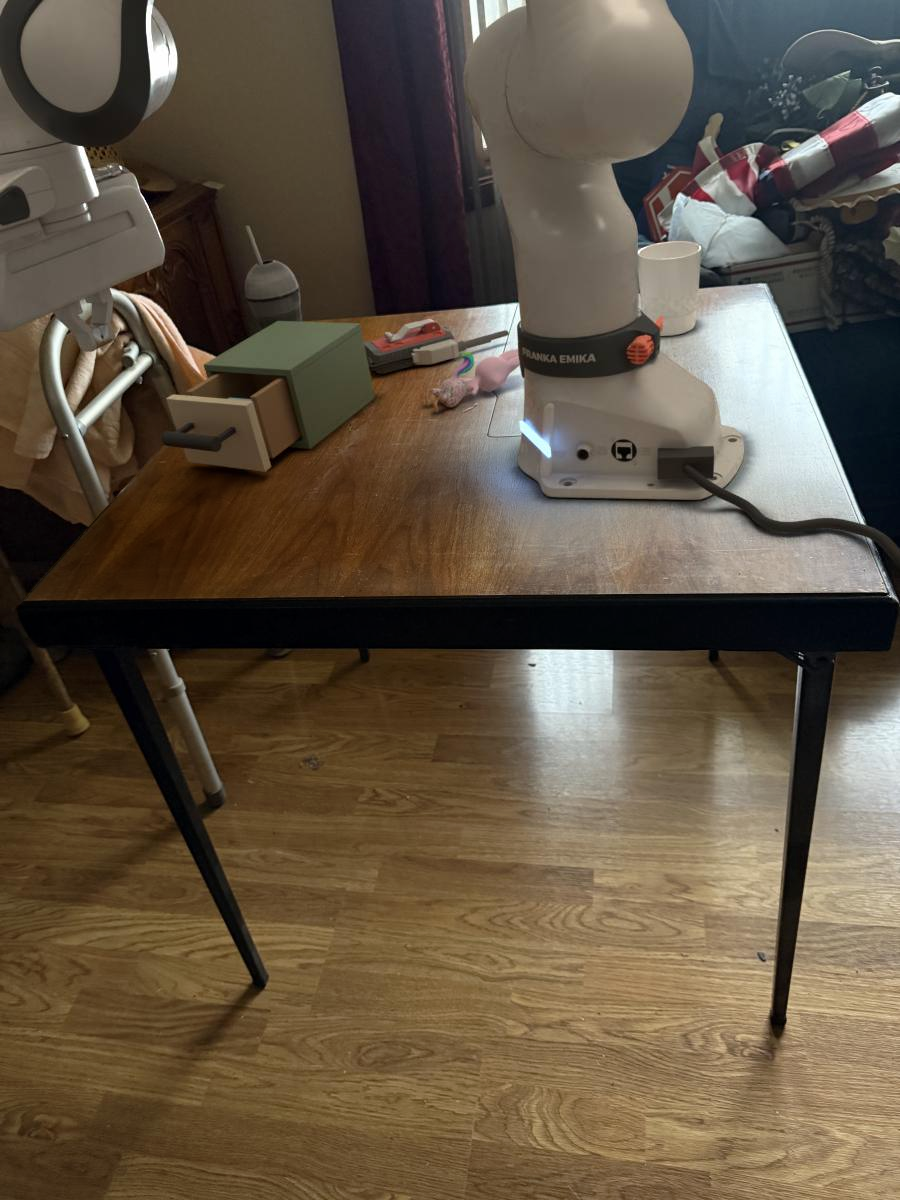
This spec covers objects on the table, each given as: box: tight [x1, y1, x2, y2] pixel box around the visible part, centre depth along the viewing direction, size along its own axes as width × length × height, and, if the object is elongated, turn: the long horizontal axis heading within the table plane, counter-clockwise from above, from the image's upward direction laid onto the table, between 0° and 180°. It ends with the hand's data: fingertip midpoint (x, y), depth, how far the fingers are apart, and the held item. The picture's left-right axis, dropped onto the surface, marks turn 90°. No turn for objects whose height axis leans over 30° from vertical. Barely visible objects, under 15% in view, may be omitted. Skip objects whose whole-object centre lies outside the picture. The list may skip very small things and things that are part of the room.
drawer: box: [161, 372, 302, 473], centre depth 99 cm, size 18×11×8 cm, turn 153°
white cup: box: [638, 240, 703, 337], centre depth 114 cm, size 8×8×10 cm
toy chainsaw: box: [364, 318, 510, 375], centre depth 120 cm, size 9×4×20 cm
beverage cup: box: [244, 225, 303, 332], centre depth 116 cm, size 7×7×20 cm
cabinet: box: [203, 321, 376, 450], centre depth 106 cm, size 15×13×10 cm
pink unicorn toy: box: [423, 348, 520, 413], centre depth 106 cm, size 6×6×15 cm
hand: (99, 346), depth 81 cm, fingers closed
